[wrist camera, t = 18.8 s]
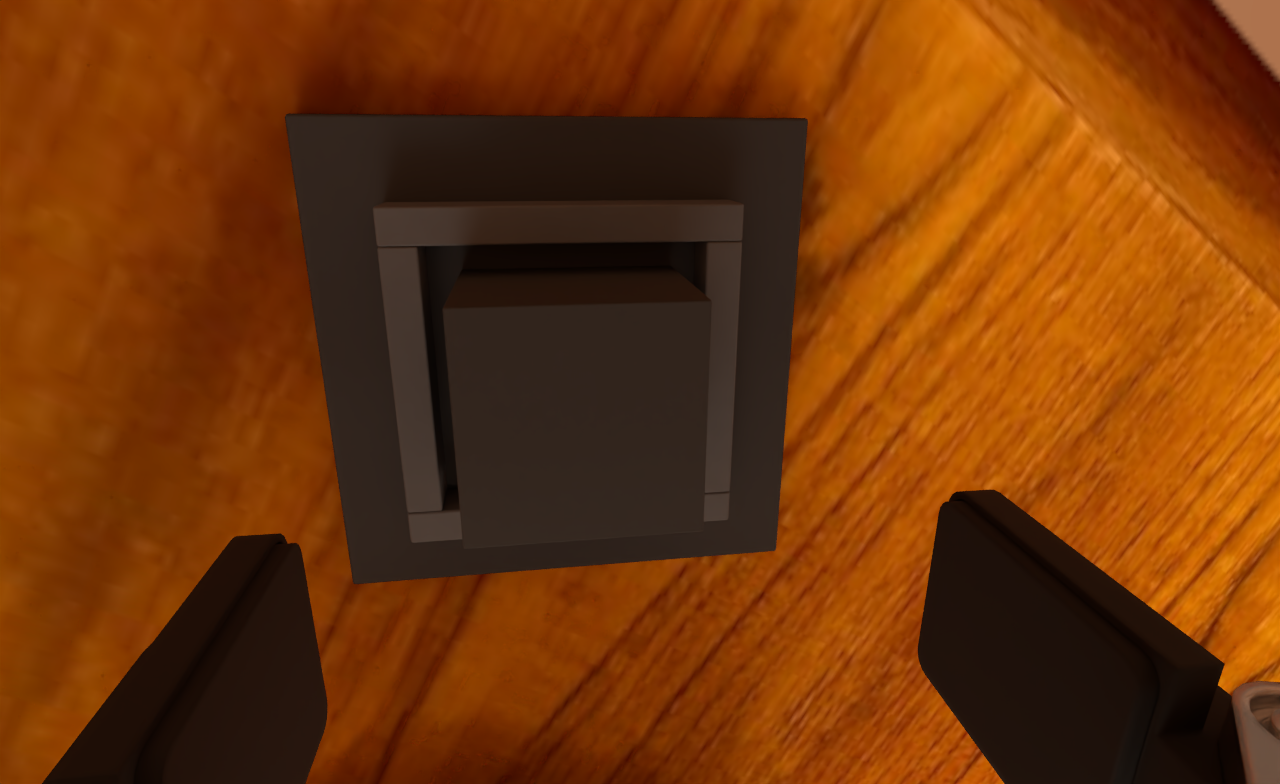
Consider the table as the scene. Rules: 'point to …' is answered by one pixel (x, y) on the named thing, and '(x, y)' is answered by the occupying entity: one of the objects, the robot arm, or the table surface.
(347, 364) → the base pad
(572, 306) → the dark block
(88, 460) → the table surface
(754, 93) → the table surface
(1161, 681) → the robot arm
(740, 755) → the table surface
